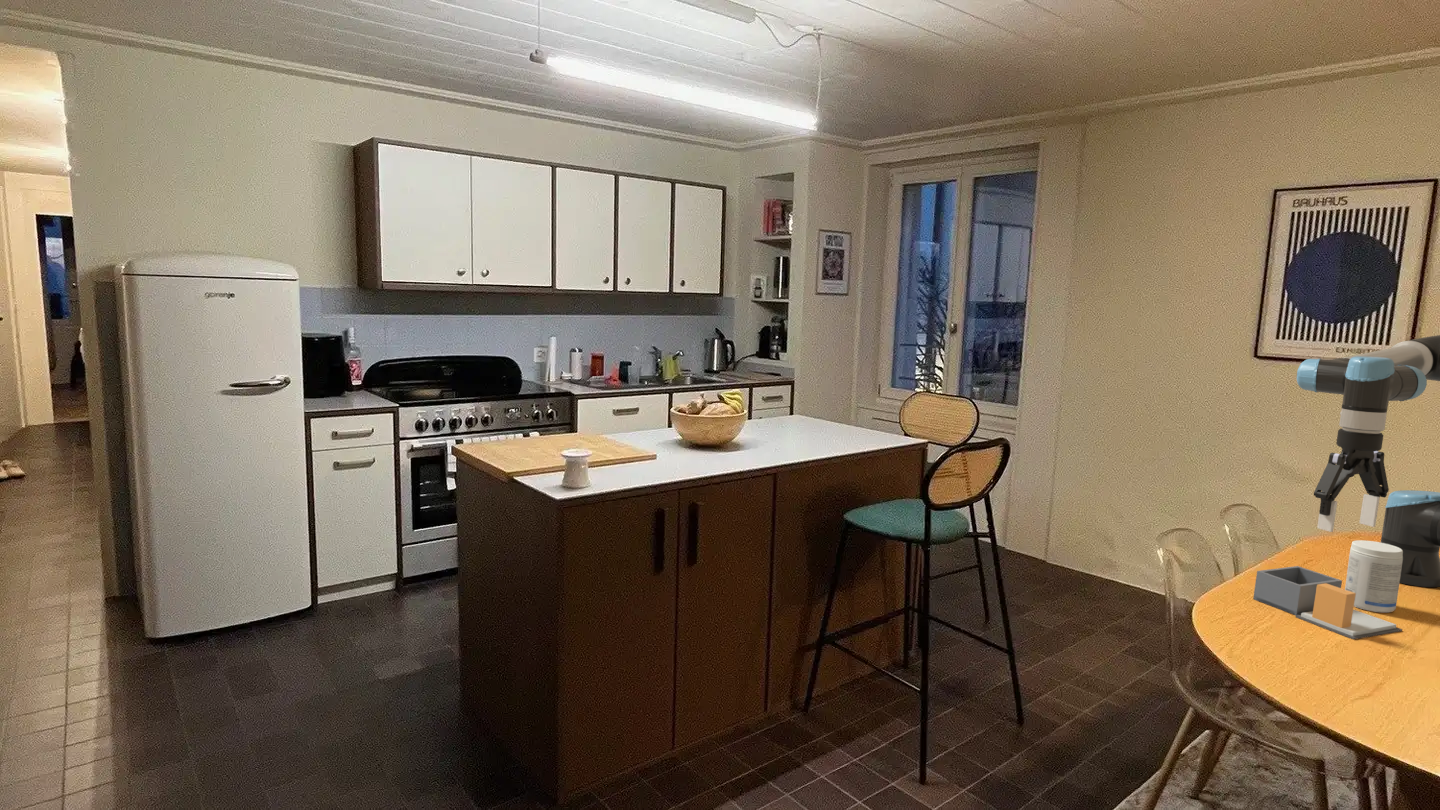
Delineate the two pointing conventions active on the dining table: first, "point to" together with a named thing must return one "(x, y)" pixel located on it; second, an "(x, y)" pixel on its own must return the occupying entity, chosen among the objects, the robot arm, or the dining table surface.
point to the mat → (1350, 635)
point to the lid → (1343, 612)
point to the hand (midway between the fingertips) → (1346, 527)
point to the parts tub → (1290, 588)
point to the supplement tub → (1374, 575)
